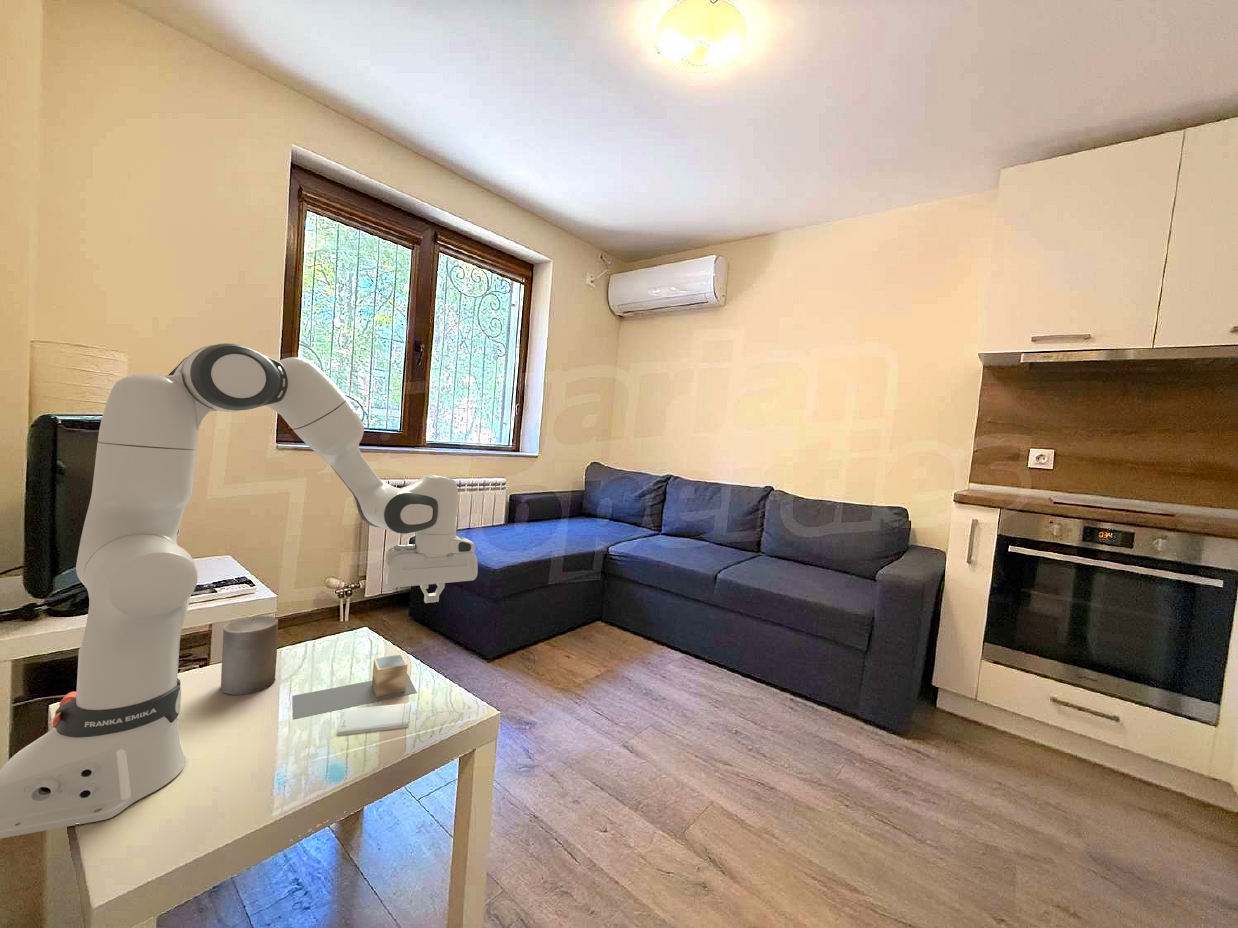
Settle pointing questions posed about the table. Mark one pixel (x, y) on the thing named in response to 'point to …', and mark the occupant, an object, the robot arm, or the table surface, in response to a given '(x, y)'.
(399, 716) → the hard drive
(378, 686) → the oak block
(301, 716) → the rubber mat
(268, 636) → the pillar candle
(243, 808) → the table surface
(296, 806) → the table surface
